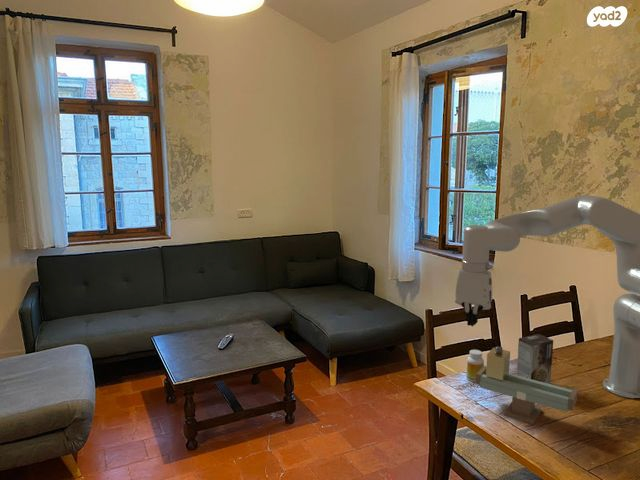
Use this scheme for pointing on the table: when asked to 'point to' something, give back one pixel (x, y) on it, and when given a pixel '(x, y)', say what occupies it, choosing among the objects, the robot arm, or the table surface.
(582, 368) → the table surface
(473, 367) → the supplement bottle
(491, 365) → the block
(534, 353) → the coffee box
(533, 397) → the beam
